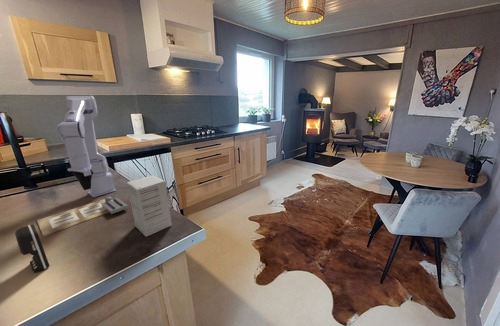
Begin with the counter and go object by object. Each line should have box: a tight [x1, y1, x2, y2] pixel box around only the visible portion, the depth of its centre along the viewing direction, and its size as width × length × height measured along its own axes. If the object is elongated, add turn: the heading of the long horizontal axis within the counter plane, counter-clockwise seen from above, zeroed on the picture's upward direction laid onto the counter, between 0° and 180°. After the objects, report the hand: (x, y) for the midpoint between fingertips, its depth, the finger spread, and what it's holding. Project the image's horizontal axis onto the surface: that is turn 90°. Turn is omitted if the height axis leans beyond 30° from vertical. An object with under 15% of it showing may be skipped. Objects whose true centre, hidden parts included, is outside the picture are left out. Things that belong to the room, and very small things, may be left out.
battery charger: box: [15, 223, 50, 273], centre depth 56 cm, size 7×4×11 cm, turn 51°
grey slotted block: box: [101, 196, 129, 215], centre depth 86 cm, size 12×6×2 cm, turn 51°
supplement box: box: [126, 174, 173, 238], centre depth 72 cm, size 10×9×17 cm
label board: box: [36, 198, 111, 237], centre depth 82 cm, size 23×14×1 cm, turn 140°
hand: (87, 189), depth 82 cm, fingers closed
